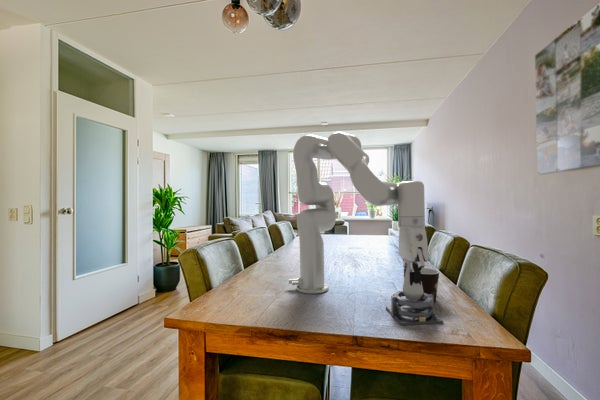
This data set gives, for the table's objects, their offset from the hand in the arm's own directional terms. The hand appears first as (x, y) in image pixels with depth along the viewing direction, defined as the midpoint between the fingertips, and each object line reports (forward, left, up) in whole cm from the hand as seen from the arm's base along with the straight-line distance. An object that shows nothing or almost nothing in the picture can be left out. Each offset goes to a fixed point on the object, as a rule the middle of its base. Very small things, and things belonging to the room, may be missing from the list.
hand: (412, 282), depth 86 cm
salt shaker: (0, 0, -5) cm, 5 cm away
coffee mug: (+12, +13, -10) cm, 20 cm away
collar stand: (0, 0, -10) cm, 10 cm away
